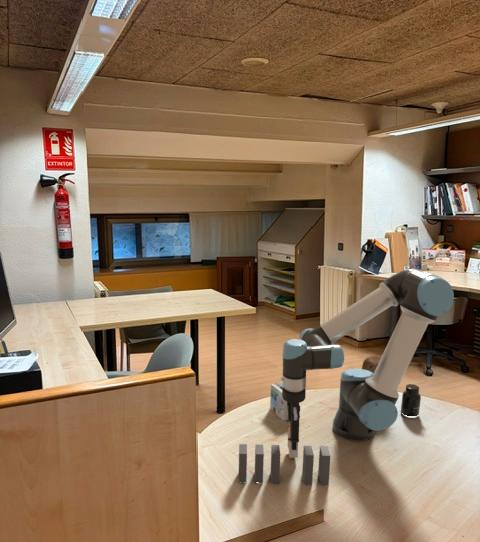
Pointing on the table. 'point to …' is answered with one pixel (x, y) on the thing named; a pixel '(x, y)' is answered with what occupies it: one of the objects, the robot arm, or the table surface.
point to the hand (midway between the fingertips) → (292, 451)
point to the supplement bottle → (411, 400)
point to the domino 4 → (289, 434)
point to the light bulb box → (278, 401)
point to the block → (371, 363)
